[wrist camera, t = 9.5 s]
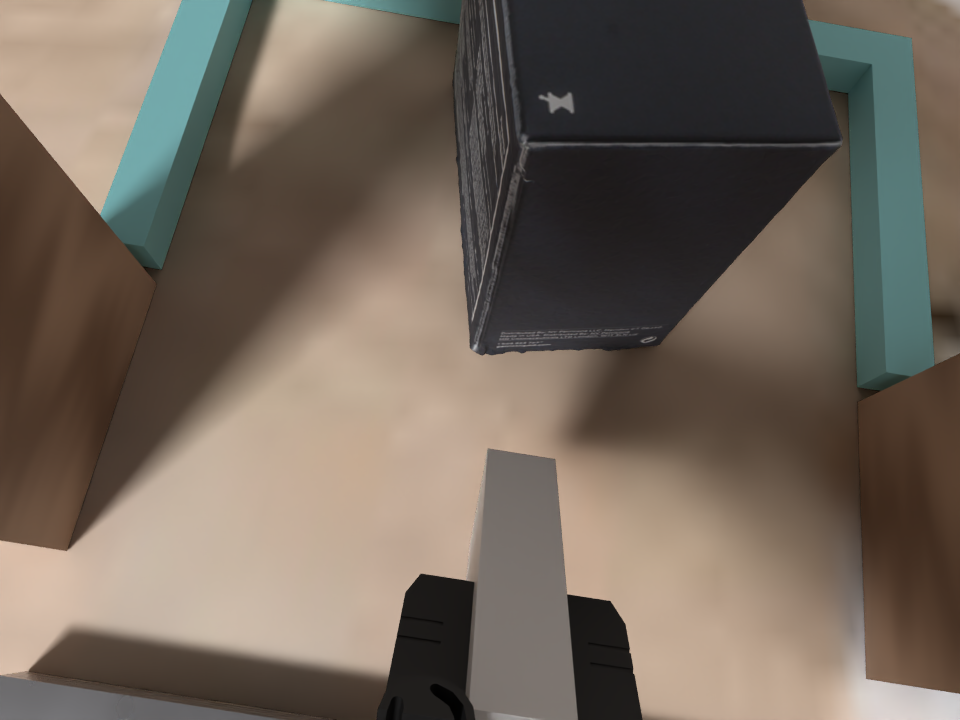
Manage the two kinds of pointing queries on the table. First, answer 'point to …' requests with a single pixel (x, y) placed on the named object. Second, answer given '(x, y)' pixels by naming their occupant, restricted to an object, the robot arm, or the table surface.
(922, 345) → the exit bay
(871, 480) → the tunnel
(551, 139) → the small box
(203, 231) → the table surface
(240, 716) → the pit plate
